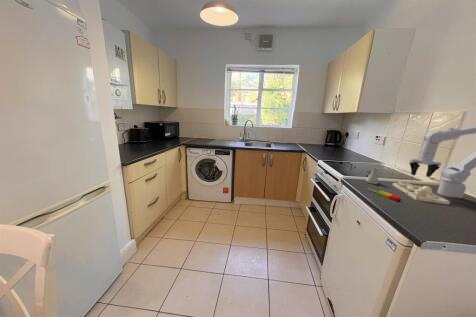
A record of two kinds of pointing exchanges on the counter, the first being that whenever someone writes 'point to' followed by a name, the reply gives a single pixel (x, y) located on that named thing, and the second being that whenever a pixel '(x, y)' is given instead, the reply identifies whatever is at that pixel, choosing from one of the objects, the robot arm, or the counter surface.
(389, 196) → the popsicle
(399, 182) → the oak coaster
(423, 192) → the egg
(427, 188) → the egg
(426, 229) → the counter surface
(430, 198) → the egg box
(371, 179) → the flask
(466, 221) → the counter surface
